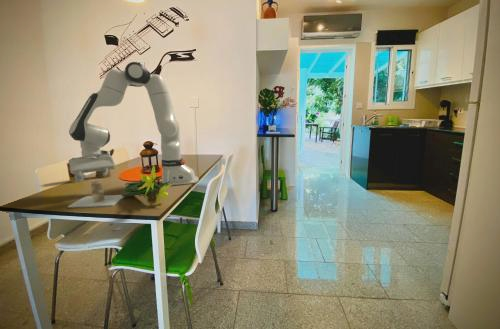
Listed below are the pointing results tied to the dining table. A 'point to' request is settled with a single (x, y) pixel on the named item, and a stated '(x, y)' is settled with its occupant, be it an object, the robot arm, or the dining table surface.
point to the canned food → (74, 175)
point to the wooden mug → (101, 173)
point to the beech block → (97, 191)
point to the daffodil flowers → (147, 186)
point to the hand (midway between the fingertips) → (95, 177)
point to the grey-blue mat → (88, 202)
